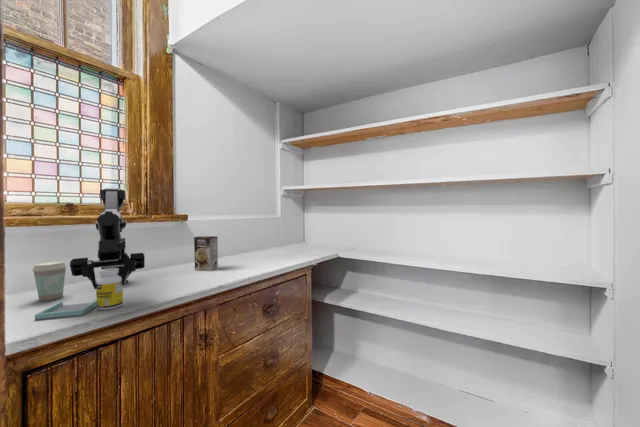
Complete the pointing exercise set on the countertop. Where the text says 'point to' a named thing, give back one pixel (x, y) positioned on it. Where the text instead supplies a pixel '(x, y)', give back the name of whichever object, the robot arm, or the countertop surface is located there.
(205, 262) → the coffee box
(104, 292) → the pill bottle
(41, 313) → the dock
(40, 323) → the countertop surface
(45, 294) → the coffee cup
